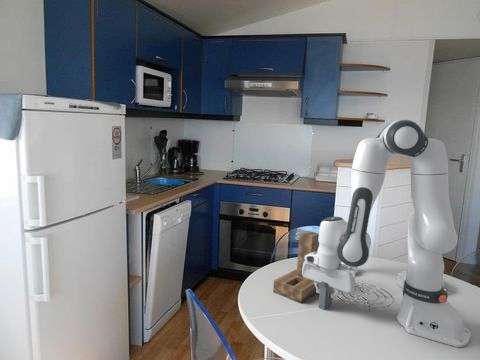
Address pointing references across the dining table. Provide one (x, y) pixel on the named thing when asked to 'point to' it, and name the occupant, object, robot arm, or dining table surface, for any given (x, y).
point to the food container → (402, 278)
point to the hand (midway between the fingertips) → (326, 295)
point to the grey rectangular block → (325, 295)
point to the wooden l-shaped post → (299, 272)
